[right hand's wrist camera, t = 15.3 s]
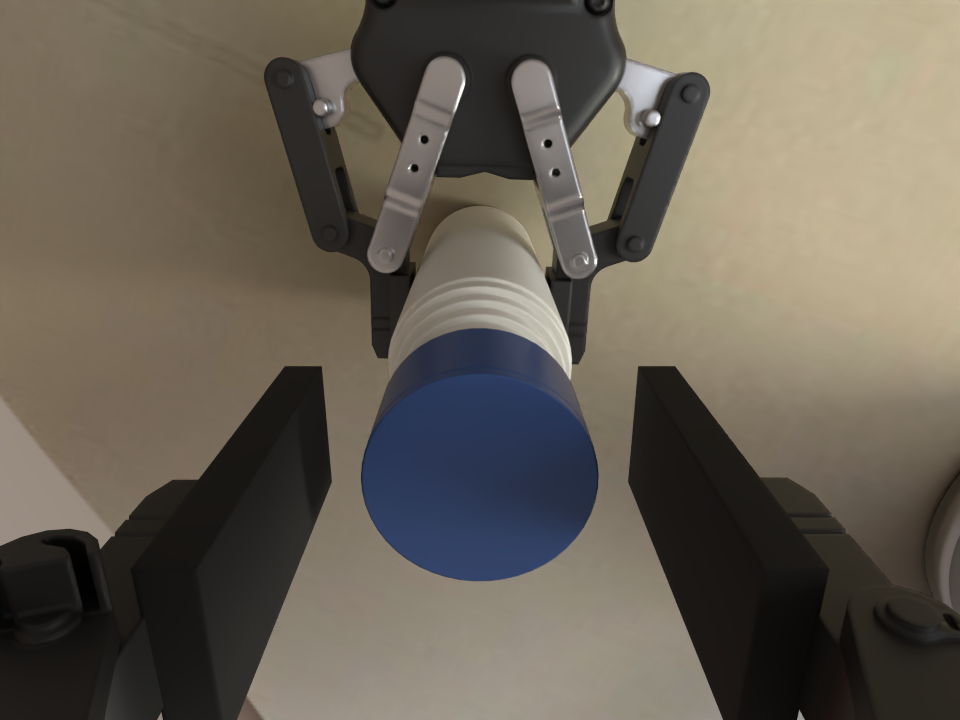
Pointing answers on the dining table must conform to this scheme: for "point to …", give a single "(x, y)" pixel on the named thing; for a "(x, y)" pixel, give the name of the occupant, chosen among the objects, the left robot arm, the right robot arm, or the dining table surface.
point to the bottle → (480, 287)
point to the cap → (479, 457)
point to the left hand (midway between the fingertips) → (478, 367)
